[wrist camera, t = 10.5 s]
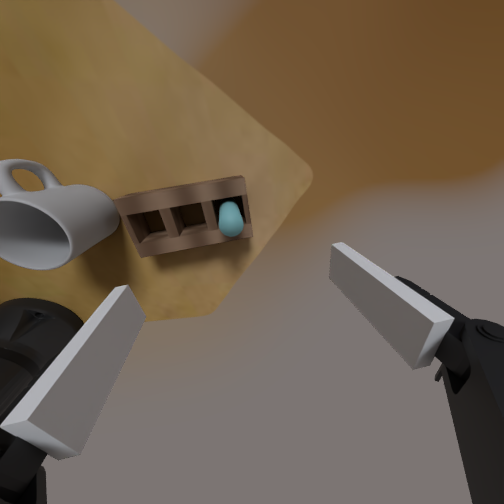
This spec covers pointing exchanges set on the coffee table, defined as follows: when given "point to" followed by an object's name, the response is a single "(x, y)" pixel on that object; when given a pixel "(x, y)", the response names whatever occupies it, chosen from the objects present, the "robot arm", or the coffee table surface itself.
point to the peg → (230, 217)
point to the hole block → (168, 207)
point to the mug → (50, 218)
